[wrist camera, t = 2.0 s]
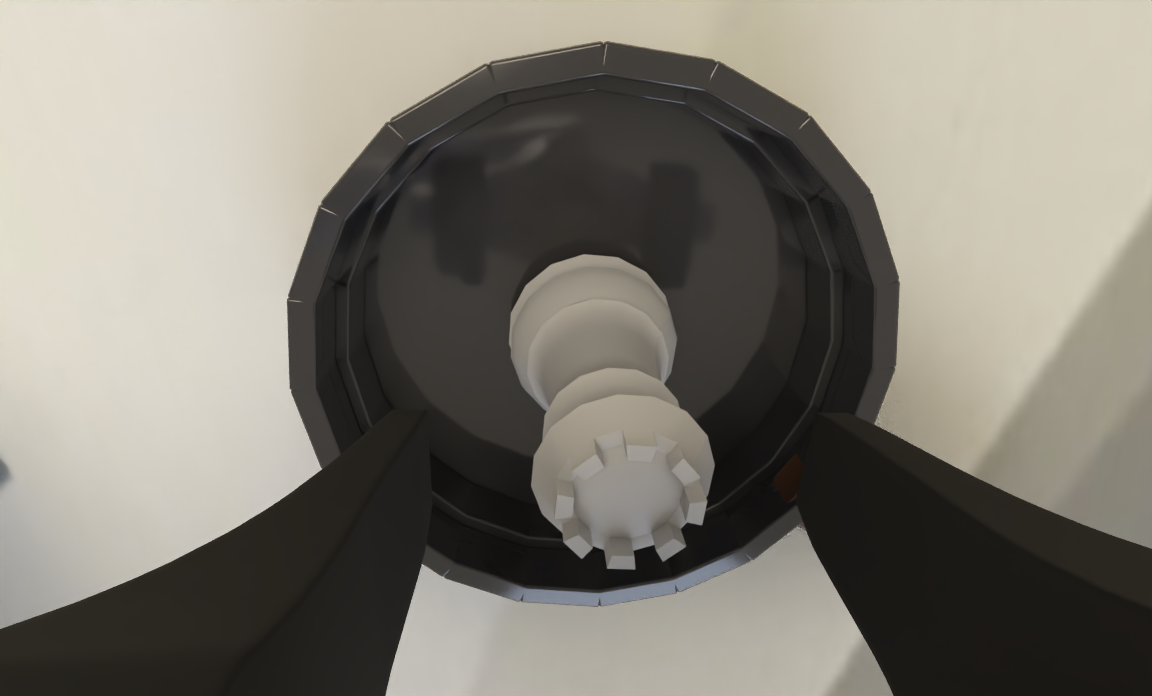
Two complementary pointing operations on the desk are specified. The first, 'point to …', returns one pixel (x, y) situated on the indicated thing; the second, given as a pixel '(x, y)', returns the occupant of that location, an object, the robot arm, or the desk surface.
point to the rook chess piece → (608, 410)
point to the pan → (605, 228)
